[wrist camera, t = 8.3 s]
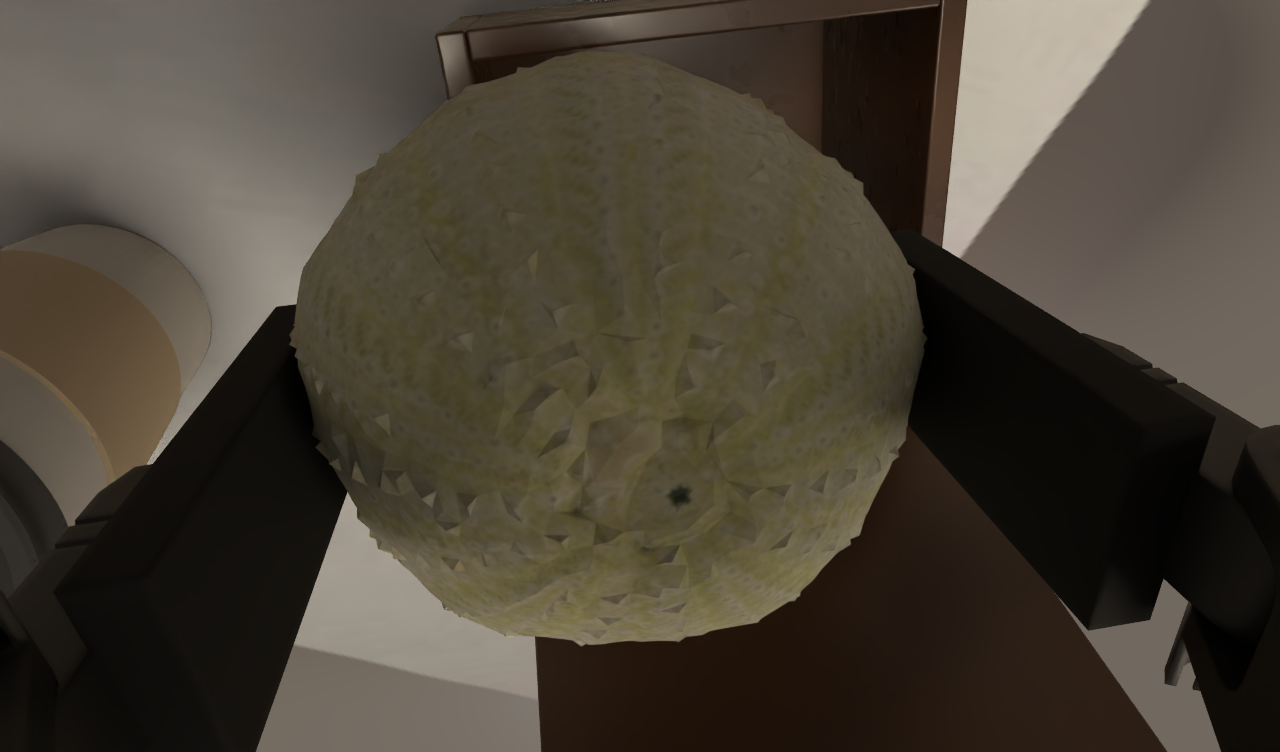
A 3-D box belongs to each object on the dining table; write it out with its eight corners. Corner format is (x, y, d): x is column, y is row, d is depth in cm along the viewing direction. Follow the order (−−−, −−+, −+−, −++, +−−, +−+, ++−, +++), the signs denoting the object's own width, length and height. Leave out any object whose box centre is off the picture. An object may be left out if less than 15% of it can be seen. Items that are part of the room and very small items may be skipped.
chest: (459, 17, 25) (434, 33, 17) (836, -26, 26) (971, -29, 18) (525, 362, 31) (528, 487, 23) (827, 316, 32) (925, 421, 24)
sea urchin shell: (647, -189, 8) (1176, 390, 6) (762, 136, 16) (1018, 452, 13) (95, 301, 10) (328, 920, 7) (436, 386, 17) (610, 711, 15)
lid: (560, 1110, 12) (566, 1119, 12) (1301, 937, 13) (1280, 952, 13) (526, 487, 23) (531, 504, 23) (934, 420, 24) (929, 438, 24)
